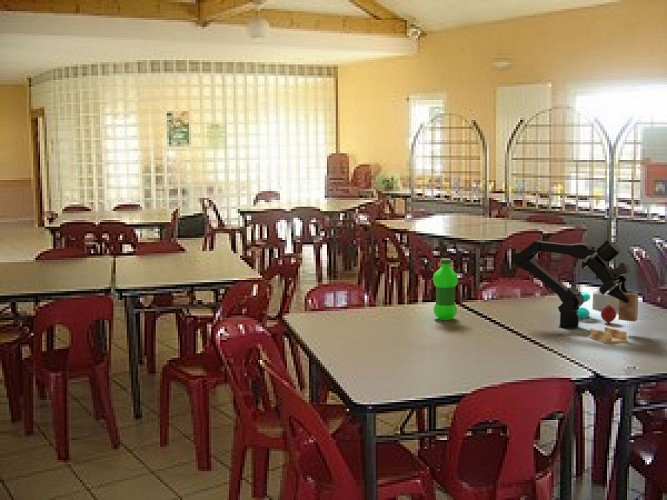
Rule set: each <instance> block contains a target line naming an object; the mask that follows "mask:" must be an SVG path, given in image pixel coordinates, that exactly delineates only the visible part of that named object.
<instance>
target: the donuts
mask: <svg viewBox="0 0 667 500" xmlns="http://www.w3.org/2000/svg"><path fill="white" fill-rule="evenodd" d="M581 292H582V293H581V294H582V295H583V297H584V303H586V302H588V301H590V300H591V295H590V293H588V292H585V291H581ZM576 311H578V314H577V315H579V319H586V318H588V317H589V316H590V311H589V310H588V309H587V308H586V307H582V306H580V307H579V309H578V310H576Z"/></svg>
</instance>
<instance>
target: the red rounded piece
mask: <svg viewBox="0 0 667 500" xmlns="http://www.w3.org/2000/svg"><path fill="white" fill-rule="evenodd" d="M600 316H601V319H602V320H603V321H604V322H605V323H606V324H610V323H611V322H613V321H614V320H615V319H616V317H617V311H615V309H614V308H613V307H612V306H611V304H608V305H607V306H606V307H604V308H603V309H602V311H601V312H600Z"/></svg>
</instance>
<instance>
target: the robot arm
mask: <svg viewBox="0 0 667 500" xmlns="http://www.w3.org/2000/svg"><path fill="white" fill-rule="evenodd" d="M539 252H545V253H546V252H547V253H553V254H561V255H567V256H570V257H572V258H576V259H579V260H583V261H581V269H582V270H583V269H586V268H588V269H589V270H590V271H591V272H592V273H593V274H594V275H595V279H596V280H599V281H600V282H601V283H602V285H601V286H600V287H598V289H599V292H600V293H601V294H602V295H604V294H605V293H606V292H607V291H608V290H609V293H607V295H610V296H613V297H615V298H617V299H619V300H621V301H624V302H626V303H628V302H629V300H628V298H627V297H626V295H625V294H624V293H623V292H625V293H630V292H629V291H628V288H627V287H626V286H627V281H628V279H629V276H628V275H626V274H628V273H630V272H631V270H630V265H628V263H626V262H624V261H623V262H620V263H618V266H617V267H615V268H613V267H612V266H609V265H607V263H608V262H609V263H610V262H612V261H613V260H614V259H615V258H616V257H617V256H619V255H620V254H621V253H622V250H621V248H620V247H619V246H618V244H615V243H614V242H613V241H611V240H610V239H606V240H605V241H603V243H602V244H601V245H600V246H599V247H597V246H592V245H591V244H590V243H589V242H579V243H562V242H552V241H544V240H534V241H533V242H532V243H531V244H530V245H528V246H527V247H525V248H524V249H522V251H519V252H515V253H514V254H513V256H512V263H513V264H514V265H515V266H516V267H518V268H519V269H521V270H524V271H525V272H526V271H527V272H528V273H530V274H531V275H532V276H534V277H535V278H536V279H538V280H539V281H540V282H541V283H543V284H544V286H546V287H547V288H548V289H550V290H551V291H552V292H554V293H555V294H556V295H557V296H558V298H559V300H560V301H561V302H562V303H561V304H560V305H559V306H558V307H557V308H558V311H559V325H558V328H563V329H564V328H565V329H577V328H578V327H579V324H580V318H579V315H577V314H578V311H576V310H578V309H579V307H582V306H583V304H584V303H585V302H584V297H583V295H582V294H581V293H582V292H583V291H580V290H578V289H577V288H576V287H575V286H574V285H572V286H569V287H568V286H566V285H565V284H564V283H562V282H561V281H559V280H558V279H557V278H556V277H554V276H553V275H552V274H551V273H549V271H547V270H546V269H545V268H543V267H542V266H541V265H539V263H538V262H537V260H536V258H535V256H537V254H538V253H539ZM593 255H595V256H593ZM585 259H587V260H586V261H585Z"/></svg>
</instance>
